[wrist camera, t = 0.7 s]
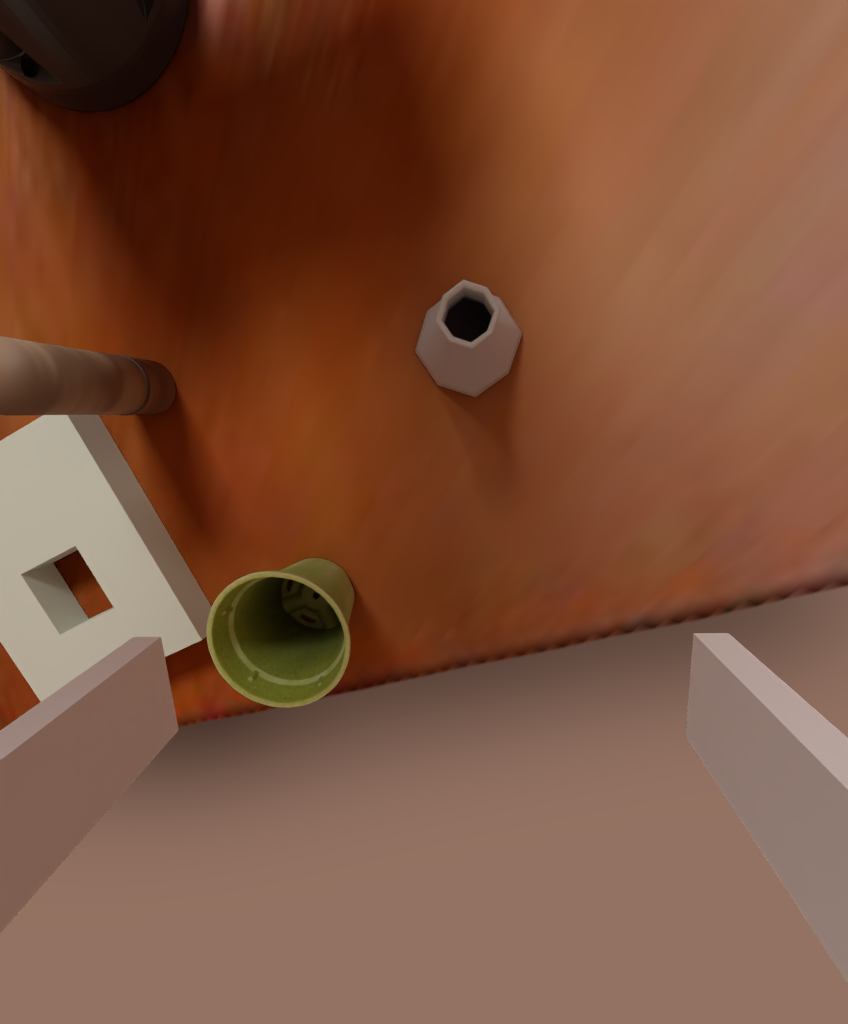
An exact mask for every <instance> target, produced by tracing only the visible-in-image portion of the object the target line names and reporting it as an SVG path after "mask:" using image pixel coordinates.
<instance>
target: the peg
mask: <svg viewBox="0 0 848 1024" xmlns="http://www.w3.org/2000/svg"><path fill="white" fill-rule="evenodd" d="M175 394H176V387H175V382H174V379H173V377H172V375H171V374H170V372H169V371H168V370H167V369H166V368H165V367H164V366H163V365H161V364H159V363H157V362H154V361H149V360H143V359H137V358H131V357H127V356H123V355H112V354H106V353H100V352H94V351H88V350H81V349H75V348H69V347H63V346H57V345H50V344H44V343H38V342H32V341H26V340H20V339H13V338H7V337H1V336H0V414H1V415H133V414H160V413H163V412H165V411H166V410H167V409H169V408H170V406H171V405H172V403H173V401H174V399H175Z"/></svg>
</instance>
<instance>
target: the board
mask: <svg viewBox="0 0 848 1024" xmlns="http://www.w3.org/2000/svg"><path fill="white" fill-rule="evenodd" d="M77 550H78V551H79V552H80V554H81V556H82V557H83V559H84V560H85V562H86V564H87V565H88V567H89V568H90V570H91V572H92V573H93V575H94V576H95V578H96V580H97V581H98V583H99V584H100V586H101V588H102V589H103V591H104V592H105V594H106V596H107V597H108V599H109V600H110V602H111V604H112V605H113V608H111V609H109V610H107V611H104V612H102V613H100V614H98V615H96V616H94V617H92V618H90V619H88V617H87V615H86V614H85V612H84V611H83V609H82V608H81V606H80V604H79V603H78V601H77V600H76V598H75V596H74V595H73V593H72V592H71V590H70V589H69V587H68V585H67V584H66V582H65V581H64V579H63V578H62V576H61V574H60V573H59V571H58V570H57V568H56V567H55V565H54V562H56V561H57V560H59V559H61V558H63V557H65V556H67V555H69V554H71V553H73V552H75V551H77ZM211 608H212V607H211V605H210V603H209V601H208V600H207V598H206V596H205V595H204V593H203V591H202V590H201V588H200V586H199V584H198V583H197V581H196V579H195V578H194V576H193V574H192V573H191V571H190V569H189V567H188V566H187V564H186V562H185V561H184V559H183V557H182V556H181V554H180V552H179V550H178V549H177V547H176V545H175V544H174V542H173V540H172V539H171V537H170V535H169V533H168V532H167V530H166V528H165V527H164V525H163V523H162V522H161V520H160V518H159V516H158V515H157V513H156V511H155V510H154V508H153V506H152V505H151V503H150V501H149V499H148V498H147V496H146V494H145V493H144V491H143V489H142V488H141V486H140V484H139V482H138V481H137V479H136V477H135V476H134V474H133V472H132V471H131V469H130V467H129V465H128V464H127V462H126V460H125V459H124V457H123V455H122V454H121V452H120V450H119V448H118V447H117V445H116V443H115V442H114V440H113V438H112V437H111V435H110V433H109V431H108V430H107V428H106V426H105V425H104V423H103V421H102V420H101V418H100V416H99V415H43V416H42V417H40V418H38V419H36V420H35V421H33V422H31V423H30V424H28V425H26V426H25V427H23V428H21V429H20V430H18V431H16V432H15V433H13V434H11V435H10V436H8V437H6V438H5V439H3V440H1V441H0V642H1V643H2V645H3V646H4V648H5V649H6V651H7V652H8V654H9V655H10V657H11V658H12V660H13V661H14V663H15V664H16V666H17V667H18V669H19V670H20V672H21V673H22V675H23V676H24V678H25V679H26V681H27V682H28V683H29V685H30V686H31V688H32V689H33V691H34V692H35V694H36V695H37V697H38V698H39V700H40V701H41V702H42V701H43V700H45V699H46V698H47V697H49V696H50V695H52V694H53V693H55V692H56V691H57V690H59V689H60V688H62V687H63V686H64V685H66V684H67V683H69V682H70V681H72V680H73V679H74V678H76V677H77V676H79V675H80V674H82V673H83V672H84V671H86V670H87V669H89V668H90V667H91V666H93V665H94V664H96V663H97V662H99V661H100V660H101V659H103V658H104V657H106V656H107V655H108V654H110V653H111V652H113V651H114V650H116V649H117V648H118V647H120V646H121V645H123V644H124V643H126V642H127V641H128V640H130V639H131V638H133V637H161V639H162V645H163V650H164V655H165V657H166V656H168V655H170V654H172V653H175V652H177V651H179V650H181V649H183V648H186V647H188V646H190V645H192V644H194V643H197V642H199V641H201V640H203V639H204V638H205V637H206V636H207V632H206V630H207V621H208V617H209V614H210V611H211Z"/></svg>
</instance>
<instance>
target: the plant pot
mask: <svg viewBox="0 0 848 1024" xmlns="http://www.w3.org/2000/svg"><path fill="white" fill-rule="evenodd" d="M289 579H290V580H294V581H293V583H292V585H291V589H290V591H288V590H287V585H288V582H289ZM314 593H318V594H319V598H317V599H316V598H314V597H313V595H314ZM353 604H354V589H353V587H352V584H351V582H350V580H349V578H348V576H347V574H346V573H345V572H344V570H343V569H342V568H340V567H339V566H338V565H336V564H335V563H333V562H331V561H328V560H325V559H320V558H309V559H305V560H301V561H299V562H297V563H294V564H292V565H290V566H288V567H286V568H284V569H282V570H279V571H261V572H256V573H252V574H249V575H246V576H244V577H241V578H239V579H238V580H236V581H234V582H233V583H231V584H230V585H229V586H227V587H226V588H225V589H224V590H223V591H222V592H221V593H220V595H219V596H218V597H217V599H216V600H215V602H214V604H213V606H212V608H211V611H210V614H209V617H208V621H207V630H206V632H207V643H208V648H209V652H210V655H211V657H212V660H213V662H214V664H215V666H216V668H217V670H218V671H219V673H220V674H221V675H222V677H223V678H224V679H225V680H226V681H227V683H228V684H230V685H231V686H232V687H233V688H234V689H235V690H236V691H238V692H239V693H241V694H242V695H244V696H245V697H247V698H249V699H250V700H253V701H255V702H258V703H261V704H264V705H268V706H273V707H298V706H303V705H307V704H310V703H312V702H315V701H317V700H318V699H320V698H322V697H323V696H325V695H326V694H328V693H329V692H330V691H331V690H332V689H333V688H334V687H335V686H336V685H337V684H338V682H339V681H340V679H341V678H342V676H343V674H344V672H345V670H346V667H347V665H348V661H349V657H350V651H351V638H350V631H349V627H348V624H349V620H350V616H351V612H352V608H353ZM301 614H304V615H305V616H307V617H309V618H311V619H313V620H316V622H309V621H306V620H304V619H303V618H302V617H301Z"/></svg>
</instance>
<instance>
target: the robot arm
mask: <svg viewBox="0 0 848 1024" xmlns="http://www.w3.org/2000/svg"><path fill="white" fill-rule="evenodd" d="M187 6H188V0H0V67H1V68H2V69H3V70H5V71H6V72H7V73H9V74H10V75H11V76H13V77H14V78H15V79H17V80H18V81H19V82H21V83H22V84H23V85H25V86H26V87H28V88H29V89H30V90H32V91H33V92H34V93H36V94H37V95H39V96H40V97H42V98H44V99H46V100H48V101H49V102H52V103H54V104H56V105H59V106H62V107H65V108H69V109H73V110H79V111H100V110H106V109H111V108H114V107H117V106H120V105H122V104H125V103H127V102H129V101H131V100H133V99H134V98H136V97H137V96H139V95H140V94H141V93H143V92H144V91H145V90H146V89H147V88H149V87H150V86H151V85H152V84H153V83H154V82H155V80H156V79H157V78H158V77H159V76H160V74H161V73H162V72H163V70H164V69H165V67H166V66H167V64H168V63H169V61H170V59H171V57H172V56H173V54H174V51H175V49H176V47H177V45H178V42H179V40H180V37H181V33H182V30H183V27H184V23H185V18H186V13H187ZM177 731H178V725H177V719H176V714H175V709H174V703H173V698H172V693H171V687H170V682H169V677H168V671H167V666H166V661H165V655H164V650H163V645H162V639H161V637H133V638H131V639H130V640H128V641H127V642H126V643H124V644H123V645H121V646H120V647H118V648H117V649H116V650H114V651H113V652H111V653H110V654H108V655H107V656H106V657H104V658H103V659H101V660H100V661H99V662H97V663H96V664H94V665H93V666H91V667H90V668H89V669H87V670H86V671H84V672H83V673H82V674H80V675H79V676H77V677H76V678H74V679H73V680H72V681H70V682H69V683H67V684H66V685H64V686H63V687H62V688H60V689H59V690H57V691H56V692H55V693H53V694H52V695H50V696H49V697H47V698H46V699H45V700H43V701H42V702H40V703H39V704H38V705H36V706H35V707H33V708H32V709H30V710H29V711H28V712H26V713H25V714H23V715H22V716H20V717H19V718H18V719H16V720H15V721H13V722H12V723H11V724H9V725H8V726H6V727H5V728H3V729H2V730H1V731H0V933H1V932H2V931H3V930H4V928H5V927H6V926H7V925H8V924H9V923H10V922H11V920H12V919H13V918H14V917H15V916H16V915H17V914H18V912H19V911H20V910H21V909H22V908H23V907H24V906H25V904H26V903H27V902H28V901H29V900H30V899H31V898H32V896H33V895H34V894H35V893H36V892H37V891H38V890H39V888H40V887H41V886H42V885H43V884H44V883H45V882H46V880H47V879H48V878H49V877H50V876H51V875H52V874H53V873H54V871H55V870H56V869H57V868H58V867H59V866H60V865H61V863H62V862H63V861H64V860H65V859H66V858H67V857H68V855H69V854H70V853H71V852H72V851H73V850H74V848H75V847H76V846H77V845H78V844H79V843H80V842H81V841H82V839H83V838H84V837H85V836H86V835H87V834H88V833H89V832H90V830H91V829H92V828H93V827H94V826H95V825H96V823H97V822H98V821H99V820H100V819H101V818H102V817H103V815H104V814H105V813H106V812H107V811H108V810H109V809H110V808H111V806H112V805H113V804H114V803H115V802H116V801H117V800H118V799H119V797H120V796H121V795H122V794H123V793H124V792H125V790H126V789H127V788H128V787H129V786H130V785H131V784H132V783H133V781H134V780H135V779H136V778H137V777H138V776H139V775H140V773H141V772H142V771H143V770H144V769H145V768H146V767H147V765H148V764H149V763H150V762H151V761H152V760H153V759H154V757H155V756H156V755H157V754H158V753H159V752H160V751H161V749H162V748H163V747H164V746H165V745H166V744H167V743H168V741H169V740H170V739H171V738H172V737H173V736H174V735H175V733H176V732H177ZM685 737H686V739H687V740H688V742H689V743H690V745H691V746H692V748H693V749H694V751H695V752H696V753H697V755H698V757H699V758H700V760H701V761H702V763H703V764H704V766H705V767H706V769H707V771H708V772H709V774H710V775H711V777H712V778H713V779H714V781H715V783H716V784H717V786H718V787H719V789H720V790H721V792H722V793H723V795H724V796H725V798H726V799H727V801H728V802H729V804H730V805H731V807H732V808H733V810H734V812H735V813H736V814H737V816H738V818H739V819H740V821H741V822H742V824H743V825H744V827H745V828H746V830H747V831H748V833H749V834H750V836H751V837H752V839H753V840H754V842H755V844H756V845H757V846H758V848H759V849H760V851H761V853H762V854H763V856H764V857H765V859H766V860H767V862H768V863H769V865H770V866H771V868H772V869H773V871H774V872H775V874H776V875H777V877H778V879H779V880H780V882H781V883H782V885H783V886H784V888H785V889H786V891H787V892H788V894H789V895H790V897H791V898H792V900H793V901H794V903H795V904H796V906H797V907H798V909H799V910H800V912H801V914H802V915H803V917H804V918H805V920H806V921H807V923H808V924H809V926H810V927H811V929H812V930H813V932H814V933H815V935H816V936H817V938H818V939H819V941H820V942H821V944H822V945H823V947H824V948H825V950H826V951H827V953H828V955H829V956H830V957H831V959H832V961H833V962H834V964H835V965H836V967H837V968H838V970H839V971H840V973H841V974H842V976H843V977H844V979H845V980H846V982H847V983H848V738H847V737H846V736H845V735H844V734H843V733H841V732H840V731H839V730H838V729H837V728H836V727H835V726H833V725H832V724H831V723H830V722H829V721H828V720H827V719H825V718H824V717H823V716H822V715H821V714H820V713H819V712H817V711H816V710H815V709H814V708H813V707H812V706H811V705H809V704H808V703H807V702H806V701H805V700H804V699H803V698H802V697H800V696H799V695H798V694H797V693H796V692H795V691H793V690H792V689H791V688H790V687H789V686H788V685H787V684H786V683H784V682H783V681H782V680H781V679H780V678H779V677H778V676H776V675H775V674H774V673H773V672H772V671H771V670H770V669H768V668H767V667H766V666H765V665H764V664H763V663H762V662H760V661H759V660H758V659H757V658H756V657H755V656H754V655H753V654H751V653H750V652H749V651H748V650H747V649H746V648H745V647H743V646H742V645H741V644H740V643H739V642H738V641H737V640H735V639H734V638H733V637H732V636H731V635H730V634H729V633H694V634H693V646H692V658H691V671H690V684H689V696H688V709H687V722H686V735H685Z"/></svg>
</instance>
